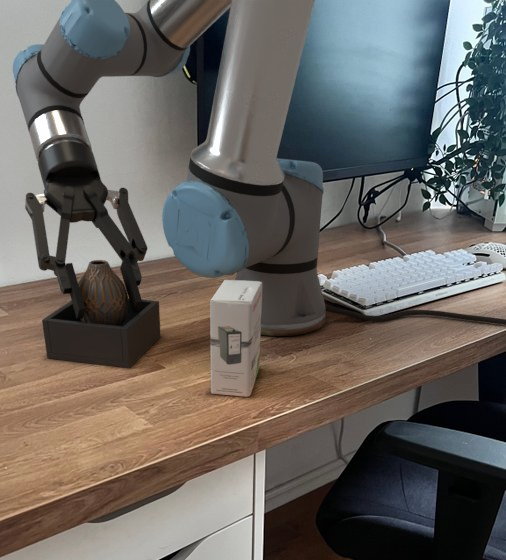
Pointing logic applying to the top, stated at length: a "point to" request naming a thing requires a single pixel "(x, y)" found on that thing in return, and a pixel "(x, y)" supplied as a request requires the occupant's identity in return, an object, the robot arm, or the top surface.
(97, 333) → the box
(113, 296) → the vase
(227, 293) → the ink box
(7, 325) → the top surface
